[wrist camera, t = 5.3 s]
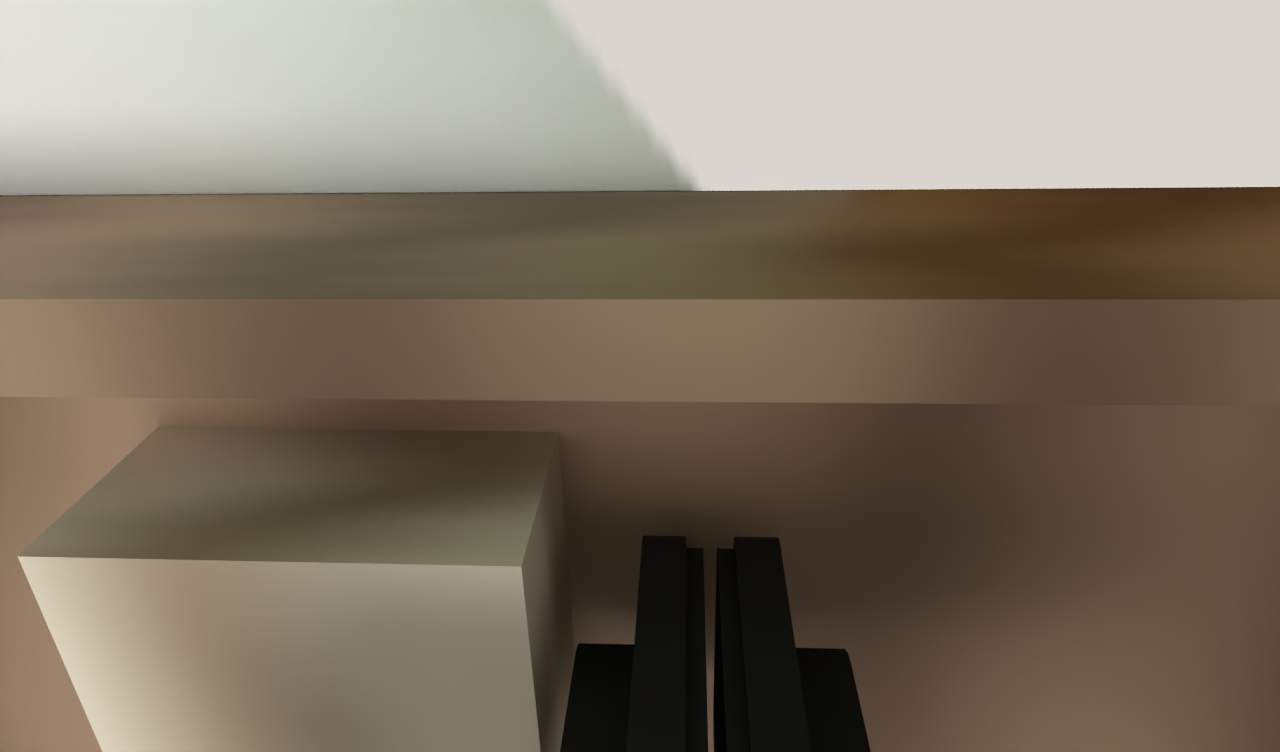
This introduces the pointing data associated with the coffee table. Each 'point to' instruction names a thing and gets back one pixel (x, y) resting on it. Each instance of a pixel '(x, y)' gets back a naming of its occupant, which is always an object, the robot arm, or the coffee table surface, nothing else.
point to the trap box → (736, 417)
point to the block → (317, 592)
